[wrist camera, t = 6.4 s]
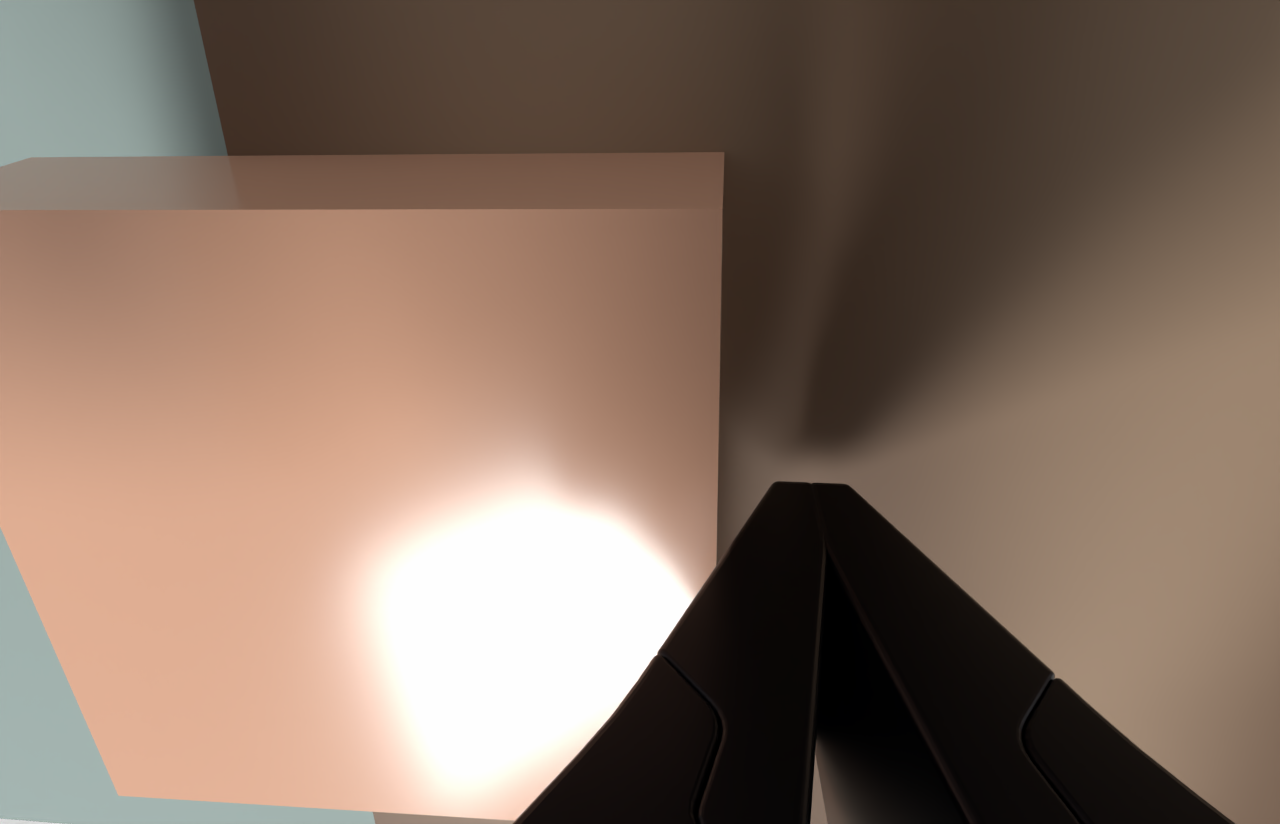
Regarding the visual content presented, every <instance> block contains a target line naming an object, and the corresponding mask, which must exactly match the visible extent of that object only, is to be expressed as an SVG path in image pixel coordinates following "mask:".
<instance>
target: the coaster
mask: <svg viewBox="0 0 1280 824" xmlns="http://www.w3.org/2000/svg"><path fill="white" fill-rule="evenodd" d="M723 206H724V152H672V153H538V154H404V155H270V156H141V157H30V158H27V159H24V160H21V161H17V162H14V163H11V164H8V165H5V166H1V167H0V528H1V530H2V532H3V534H4V537H5V539H6V541H7V544H8V546H9V548H10V550H11V553H12V555H13V557H14V560H15V562H16V564H17V566H18V569H19V571H20V573H21V575H22V578H23V580H24V582H25V585H26V587H27V589H28V591H29V594H30V596H31V598H32V600H33V603H34V605H35V607H36V610H37V612H38V614H39V616H40V619H41V621H42V623H43V625H44V628H45V630H46V632H47V635H48V637H49V639H50V641H51V644H52V646H53V648H54V650H55V653H56V655H57V657H58V660H59V662H60V664H61V666H62V669H63V671H64V673H65V675H66V678H67V680H68V682H69V685H70V687H71V689H72V691H73V694H74V696H75V698H76V700H77V703H78V705H79V707H80V710H81V712H82V714H83V716H84V719H85V721H86V723H87V725H88V728H89V730H90V732H91V735H92V737H93V739H94V741H95V744H96V746H97V748H98V750H99V753H100V755H101V757H102V760H103V762H104V764H105V766H106V769H107V771H108V773H109V775H110V778H111V780H112V782H113V785H114V787H115V789H116V791H117V794H118V796H130V797H145V798H161V799H177V800H193V801H209V802H225V803H241V804H257V805H273V806H289V807H305V808H321V809H337V810H353V811H369V812H385V813H401V814H417V815H433V816H449V817H465V818H481V819H497V820H513V821H515V820H516V819H517V818H518V817H519V816H520V815H521V814H522V813H523V812H524V811H525V809H526V808H527V807H528V806H529V805H530V804H531V803H532V802H533V801H534V800H535V799H536V798H537V797H538V796H539V795H540V794H541V792H542V791H543V790H544V789H545V788H546V787H547V786H548V785H549V784H550V783H551V782H552V781H553V780H554V779H555V778H556V776H557V775H558V774H559V773H560V772H561V771H562V770H563V769H564V768H565V767H566V766H567V765H568V764H569V763H570V762H571V760H572V759H573V758H574V757H575V756H576V755H577V754H578V753H579V752H580V751H581V749H582V748H583V747H584V746H585V745H586V744H587V743H588V742H589V740H590V739H591V738H592V737H593V736H594V735H595V734H596V732H597V731H598V730H599V729H600V728H601V727H602V726H603V724H604V723H605V722H606V721H607V720H608V719H609V718H610V716H611V715H612V714H613V712H614V711H615V710H616V708H617V707H618V706H619V704H620V703H621V702H622V700H623V699H624V698H625V696H626V695H627V694H628V692H629V691H630V690H631V688H632V687H633V686H634V684H635V683H636V682H637V680H638V679H639V677H640V676H641V675H642V673H643V672H644V670H645V669H646V667H647V666H648V664H649V663H650V661H651V660H652V658H653V657H654V656H656V655H657V652H658V650H659V649H660V647H661V646H662V644H663V643H664V641H665V640H666V639H667V637H668V636H669V634H670V633H671V631H672V630H673V628H674V627H675V625H676V624H677V622H678V621H679V619H680V618H681V617H682V615H683V614H684V612H685V611H686V609H687V608H688V606H689V605H690V603H691V602H692V600H693V599H694V598H695V596H696V595H697V593H698V592H699V590H700V589H701V587H702V586H703V584H704V583H705V581H706V580H707V578H708V577H709V576H710V574H711V573H712V571H713V570H714V568H715V567H716V565H717V548H718V491H719V434H720V377H721V320H722V263H723Z"/></svg>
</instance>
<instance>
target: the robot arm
mask: <svg viewBox="0 0 1280 824" xmlns="http://www.w3.org/2000/svg"><path fill="white" fill-rule="evenodd" d="M815 755H816V760H817V766H818V772H819V777H820V783H821V789H822V794H823V800H824V806H825V811H826V817H827V823H828V824H1235V823H1234V822H1233V821H1231V820H1230V819H1229V818H1228V817H1226V816H1225V815H1224V814H1222V813H1221V812H1220V811H1218V810H1217V809H1216V808H1215V807H1213V806H1212V805H1211V804H1209V803H1208V802H1207V801H1205V800H1204V799H1203V798H1202V797H1200V796H1199V795H1198V794H1196V793H1195V792H1194V791H1193V790H1191V789H1190V788H1189V787H1188V786H1186V785H1185V784H1184V783H1183V782H1181V781H1180V780H1179V779H1178V778H1176V777H1175V776H1174V775H1173V774H1171V773H1170V772H1169V771H1168V770H1166V769H1165V768H1164V767H1163V766H1161V765H1160V764H1159V763H1158V762H1156V761H1155V760H1154V759H1153V758H1151V757H1150V756H1149V755H1148V754H1146V753H1145V752H1144V751H1143V750H1141V749H1140V748H1139V747H1138V746H1137V745H1135V744H1134V743H1133V742H1132V741H1131V740H1130V739H1129V738H1127V737H1126V736H1125V735H1124V734H1123V733H1122V732H1120V731H1119V730H1118V729H1117V728H1116V727H1115V726H1114V725H1112V724H1111V723H1110V722H1109V721H1108V720H1107V719H1106V718H1104V717H1103V716H1102V715H1101V714H1100V713H1099V712H1098V711H1096V710H1095V709H1094V708H1093V707H1092V706H1091V705H1090V704H1088V703H1087V702H1086V701H1085V700H1084V699H1083V698H1082V697H1081V696H1080V695H1079V694H1077V693H1076V692H1075V691H1074V690H1073V689H1072V688H1071V687H1070V686H1069V685H1068V684H1067V683H1065V682H1064V681H1063V680H1062V679H1060V678H1055V674H1054V672H1053V671H1052V670H1051V669H1050V668H1049V667H1048V666H1046V665H1045V664H1044V663H1043V662H1042V661H1041V660H1040V659H1039V658H1038V657H1037V656H1035V655H1034V654H1033V653H1032V652H1031V651H1030V650H1029V649H1028V648H1027V647H1026V646H1025V645H1023V644H1022V643H1021V642H1020V641H1019V640H1018V639H1017V638H1016V637H1015V636H1014V635H1013V634H1011V633H1010V632H1009V631H1008V630H1007V629H1006V628H1005V627H1004V626H1003V625H1002V624H1001V623H999V622H998V621H997V620H996V619H995V618H994V617H993V616H992V615H991V614H990V613H988V612H987V611H986V610H985V609H984V608H983V607H982V606H981V605H980V604H979V603H978V602H976V601H975V600H974V599H973V598H972V597H971V596H970V595H969V594H968V593H967V592H966V591H964V590H963V589H962V588H961V587H960V586H959V585H958V584H957V583H956V582H955V581H953V580H952V579H951V578H950V577H949V576H948V575H947V574H946V573H945V572H944V571H943V570H941V569H940V568H939V567H938V566H937V565H936V564H935V563H934V562H933V561H932V560H931V559H929V558H928V557H927V556H926V555H925V554H924V553H923V552H922V551H921V550H920V549H919V548H917V547H916V546H915V545H914V544H913V543H912V542H911V541H910V540H909V539H908V538H906V537H905V536H904V535H903V534H902V533H901V532H900V531H899V530H898V529H897V528H896V527H894V526H893V525H892V524H891V523H890V522H889V521H888V520H887V519H886V518H885V517H884V516H882V515H881V514H880V513H879V512H878V511H877V510H876V509H875V508H874V507H873V506H872V505H870V504H869V503H868V502H867V501H866V500H865V499H864V498H863V497H862V496H861V495H859V494H858V493H857V492H856V491H855V490H854V489H853V488H852V487H850V486H849V485H847V484H842V483H808V482H790V481H776V482H774V483H773V484H772V485H771V486H770V488H769V489H768V491H767V492H766V493H765V495H764V496H763V498H762V499H761V501H760V502H759V504H758V505H757V507H756V508H755V510H754V511H753V513H752V514H751V515H750V517H749V518H748V520H747V521H746V523H745V524H744V526H743V527H742V529H741V530H740V532H739V533H738V535H737V536H736V537H735V539H734V540H733V542H732V543H731V545H730V546H729V548H728V549H727V551H726V552H725V554H724V555H723V556H722V558H721V559H720V561H719V562H718V564H717V565H716V567H715V568H714V570H713V571H712V573H711V574H710V576H709V577H708V578H707V580H706V581H705V583H704V584H703V586H702V587H701V589H700V590H699V592H698V593H697V595H696V596H695V598H694V599H693V600H692V602H691V603H690V605H689V606H688V608H687V609H686V611H685V612H684V614H683V615H682V617H681V618H680V619H679V621H678V622H677V624H676V625H675V627H674V628H673V630H672V631H671V633H670V634H669V636H668V637H667V639H666V640H665V641H664V643H663V644H662V646H661V647H660V649H659V650H658V652H657V655H656V656H654V657H653V658H652V660H651V661H650V663H649V664H648V666H647V667H646V669H645V670H644V672H643V673H642V675H641V676H640V677H639V679H638V680H637V682H636V683H635V684H634V686H633V687H632V688H631V690H630V691H629V692H628V694H627V695H626V696H625V698H624V699H623V700H622V702H621V703H620V704H619V706H618V707H617V708H616V710H615V711H614V712H613V714H612V715H611V716H610V718H609V719H608V720H607V721H606V722H605V723H604V724H603V726H602V727H601V728H600V729H599V730H598V731H597V732H596V734H595V735H594V736H593V737H592V738H591V739H590V740H589V742H588V743H587V744H586V745H585V746H584V747H583V748H582V749H581V751H580V752H579V753H578V754H577V755H576V756H575V757H574V758H573V759H572V760H571V762H570V763H569V764H568V765H567V766H566V767H565V768H564V769H563V770H562V771H561V772H560V773H559V774H558V775H557V776H556V778H555V779H554V780H553V781H552V782H551V783H550V784H549V785H548V786H547V787H546V788H545V789H544V790H543V791H542V792H541V794H540V795H539V796H538V797H537V798H536V799H535V800H534V801H533V802H532V803H531V804H530V805H529V806H528V807H527V808H526V809H525V811H524V812H523V813H522V814H521V815H520V816H519V817H518V818H517V819H516V820H515V821H514V822H513V823H512V824H810V822H811V808H812V793H813V778H814V764H815Z"/></svg>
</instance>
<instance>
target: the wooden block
mask: <svg viewBox="0 0 1280 824" xmlns="http://www.w3.org/2000/svg"><path fill="white" fill-rule="evenodd" d="M194 4H195V9H196V13H197V18H198V23H199V27H200V32H201V36H202V41H203V45H204V50H205V54H206V59H207V63H208V68H209V72H210V77H211V81H212V86H213V91H214V95H215V100H216V104H217V109H218V113H219V118H220V122H221V127H222V131H223V136H224V140H225V145H226V149H227V154H228V156H270V155H404V154H538V153H672V152H724V206H723V263H722V320H721V377H720V434H719V491H718V548H717V564H718V562H719V561H720V559H721V558H722V556H723V555H724V554H725V552H726V551H727V549H728V548H729V546H730V545H731V543H732V542H733V540H734V539H735V537H736V536H737V535H738V533H739V532H740V530H741V529H742V527H743V526H744V524H745V523H746V521H747V520H748V518H749V517H750V515H751V514H752V513H753V511H754V510H755V508H756V507H757V505H758V504H759V502H760V501H761V499H762V498H763V496H764V495H765V493H766V492H767V491H768V489H769V488H770V486H771V485H772V484H773V483H774V482H776V481H790V482H808V483H842V484H847V485H849V486H850V487H852V488H853V489H854V490H855V491H856V492H857V493H858V494H859V495H861V496H862V497H863V498H864V499H865V500H866V501H867V502H868V503H869V504H870V505H872V506H873V507H874V508H875V509H876V510H877V511H878V512H879V513H880V514H881V515H882V516H884V517H885V518H886V519H887V520H888V521H889V522H890V523H891V524H892V525H893V526H894V527H896V528H897V529H898V530H899V531H900V532H901V533H902V534H903V535H904V536H905V537H906V538H908V539H909V540H910V541H911V542H912V543H913V544H914V545H915V546H916V547H917V548H919V549H920V550H921V551H922V552H923V553H924V554H925V555H926V556H927V557H928V558H929V559H931V560H932V561H933V562H934V563H935V564H936V565H937V566H938V567H939V568H940V569H941V570H943V571H944V572H945V573H946V574H947V575H948V576H949V577H950V578H951V579H952V580H953V581H955V582H956V583H957V584H958V585H959V586H960V587H961V588H962V589H963V590H964V591H966V592H967V593H968V594H969V595H970V596H971V597H972V598H973V599H974V600H975V601H976V602H978V603H979V604H980V605H981V606H982V607H983V608H984V609H985V610H986V611H987V612H988V613H990V614H991V615H992V616H993V617H994V618H995V619H996V620H997V621H998V622H999V623H1001V624H1002V625H1003V626H1004V627H1005V628H1006V629H1007V630H1008V631H1009V632H1010V633H1011V634H1013V635H1014V636H1015V637H1016V638H1017V639H1018V640H1019V641H1020V642H1021V643H1022V644H1023V645H1025V646H1026V647H1027V648H1028V649H1029V650H1030V651H1031V652H1032V653H1033V654H1034V655H1035V656H1037V657H1038V658H1039V659H1040V660H1041V661H1042V662H1043V663H1044V664H1045V665H1046V666H1048V667H1049V668H1050V669H1051V670H1052V671H1053V672H1054V674H1055V678H1060V679H1062V680H1063V681H1064V682H1065V683H1067V684H1068V685H1069V686H1070V687H1071V688H1072V689H1073V690H1074V691H1075V692H1076V693H1077V694H1079V695H1080V696H1081V697H1082V698H1083V699H1084V700H1085V701H1086V702H1087V703H1088V704H1090V705H1091V706H1092V707H1093V708H1094V709H1095V710H1096V711H1098V712H1099V713H1100V714H1101V715H1102V716H1103V717H1104V718H1106V719H1107V720H1108V721H1109V722H1110V723H1111V724H1112V725H1114V726H1115V727H1116V728H1117V729H1118V730H1119V731H1120V732H1122V733H1123V734H1124V735H1125V736H1126V737H1127V738H1129V739H1130V740H1131V741H1132V742H1133V743H1134V744H1135V745H1137V746H1138V747H1139V748H1140V749H1141V750H1143V751H1144V752H1145V753H1146V754H1148V755H1149V756H1150V757H1151V758H1153V759H1154V760H1155V761H1156V762H1158V763H1159V764H1160V765H1161V766H1163V767H1164V768H1165V769H1166V770H1168V771H1169V772H1170V773H1171V774H1173V775H1174V776H1175V777H1176V778H1178V779H1179V780H1180V781H1181V782H1183V783H1184V784H1185V785H1186V786H1188V787H1189V788H1190V789H1191V790H1193V791H1194V792H1195V793H1196V794H1198V795H1199V796H1200V797H1202V798H1203V799H1204V800H1205V801H1207V802H1208V803H1209V804H1211V805H1212V806H1213V807H1215V808H1216V809H1217V810H1218V811H1220V812H1221V813H1222V814H1224V815H1225V816H1226V817H1228V818H1229V819H1230V820H1231V821H1233V822H1234V823H1235V824H1280V0H194ZM373 816H374V820H375V824H512V823H513V822H514V821H513V820H497V819H481V818H465V817H449V816H433V815H417V814H401V813H385V812H373ZM810 824H828V823H827V817H826V811H825V806H824V800H823V794H822V789H821V783H820V777H819V772H818V766H817V760H816V755H815V764H814V778H813V793H812V808H811V822H810Z"/></svg>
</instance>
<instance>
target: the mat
mask: <svg viewBox="0 0 1280 824" xmlns="http://www.w3.org/2000/svg"><path fill="white" fill-rule="evenodd" d="M141 156H228V154H227V149H226V145H225V140H224V136H223V131H222V127H221V122H220V118H219V113H218V109H217V104H216V100H215V95H214V91H213V86H212V81H211V77H210V72H209V68H208V63H207V59H206V54H205V50H204V45H203V41H202V36H201V32H200V27H199V23H198V18H197V13H196V9H195V4H194V0H0V167H1V166H5V165H8V164H11V163H14V162H17V161H21V160H24V159H27V158H30V157H141ZM0 818H2V819H14V820H26V821H39V822H51V823H63V824H375V820H374V816H373V812H369V811H353V810H337V809H321V808H305V807H289V806H273V805H257V804H241V803H225V802H209V801H193V800H177V799H161V798H145V797H130V796H118V794H117V791H116V789H115V787H114V785H113V782H112V780H111V778H110V775H109V773H108V771H107V769H106V766H105V764H104V762H103V760H102V757H101V755H100V753H99V750H98V748H97V746H96V744H95V741H94V739H93V737H92V735H91V732H90V730H89V728H88V725H87V723H86V721H85V719H84V716H83V714H82V712H81V710H80V707H79V705H78V703H77V700H76V698H75V696H74V694H73V691H72V689H71V687H70V685H69V682H68V680H67V678H66V675H65V673H64V671H63V669H62V666H61V664H60V662H59V660H58V657H57V655H56V653H55V650H54V648H53V646H52V644H51V641H50V639H49V637H48V635H47V632H46V630H45V628H44V625H43V623H42V621H41V619H40V616H39V614H38V612H37V610H36V607H35V605H34V603H33V600H32V598H31V596H30V594H29V591H28V589H27V587H26V585H25V582H24V580H23V578H22V575H21V573H20V571H19V569H18V566H17V564H16V562H15V560H14V557H13V555H12V553H11V550H10V548H9V546H8V544H7V541H6V539H5V537H4V534H3V532H2V530H1V528H0Z"/></svg>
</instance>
